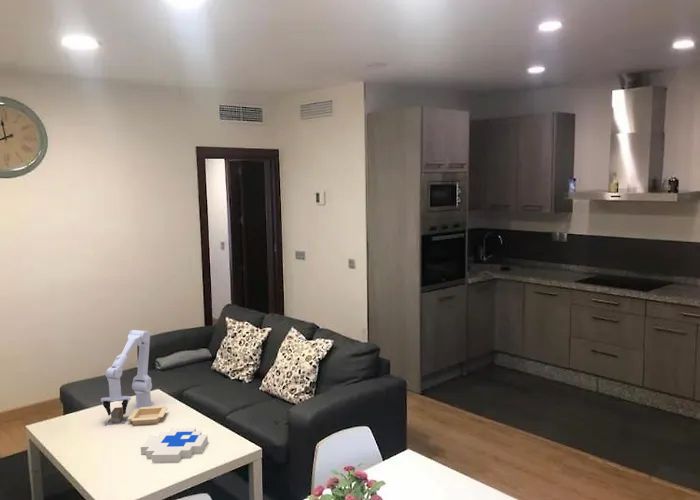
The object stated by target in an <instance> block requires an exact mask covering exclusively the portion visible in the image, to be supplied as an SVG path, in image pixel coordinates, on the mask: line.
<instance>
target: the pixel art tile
mask: <svg viewBox="0 0 700 500" xmlns="http://www.w3.org/2000/svg"><path fill="white" fill-rule="evenodd" d="M208 441H209V437H208V434H202V431H201V430H200V431H199V430H197V431H196V427H186V428H185V427H179V428H175V427H174V428H171V429H170V430H169V431H161V432H160V433H159V434H158V435H149V436H148V437H147V439H146V440H145V441H144V442H143V444H142V445H141V446H140V455H141V456H142V455H144V454H146V455H145V457H146V459H147V458H150V459H151V463H152V462H160V463H179V462H180V461H181V460H182V459H188V458H189V459H190V458H191V457H192V456H193V455H195V454H196V455H198V454H202V453H203V451H204V450H205V448H206V446H207V444H208Z"/></svg>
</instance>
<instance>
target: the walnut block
mask: <svg viewBox="0 0 700 500" xmlns="http://www.w3.org/2000/svg"><path fill="white" fill-rule="evenodd" d="M123 417H124V415H123V407H122V406H121V407H120V406H119V407H114V408H113V410H111V414H110V418H111V421H112V424H116V423H120V422H121V421H122V419H123Z"/></svg>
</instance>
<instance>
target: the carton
mask: <svg viewBox="0 0 700 500" xmlns="http://www.w3.org/2000/svg"><path fill="white" fill-rule="evenodd" d="M168 409H169V407H168V406H167V407H165V405H157V406H153V405H151V407H140V408H139V409H135V408H133V410H132V412H131V413H130V414H129V417H128V419H127V421H128V420H130V422H132V425H145V424H146V425H149V424H159V423H160V421H161V419H162V418H163V417H164V416H165V414H166V412H167V411H168Z"/></svg>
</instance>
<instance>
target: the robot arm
mask: <svg viewBox="0 0 700 500" xmlns="http://www.w3.org/2000/svg"><path fill="white" fill-rule="evenodd" d="M150 343H151V334H150V332H149V331H148V330H138V329H131V330H130V331H129V333H128V335H127V340H126V343H125V346H124V348H123V349H122V352H121V354H117V355H116V357H115V359H114V361H113V363H112V365H111V366H109V367H108V368H107V369H106V371H105V374H104V375H105V378H107V382H108V391H109V396H106V397H101V398H100V402H101V403H102V406H103V407H104V409H105V410H106V412H107V415H108V416H111V412H112V410H111V402H112V403H113V402H121V407H123V416H124V415H125V414H126V413H127V407H128V404H129V402H130V401H131V395H130V396H129V395H122V387H121V377H122V376H123V371H124V367H125V365H126V364H127V362H128V356H129V354H130V353H131V352H132V351H133V349H134V348H135V346H138V358H137V359H138V361H137V374H136V375H135V376H133V378H132V379H133V380H132V384H131V389H132V391H134V393H135V402H136V406H135V407H134V409H139V408H140V407H151V406H153V404H154V403H153V401H152V399H151V398H152V397H151V396H152V395H151V390H152V388H153V383H152V377H150V375H148V373H149V372H148V370H149V357H150Z"/></svg>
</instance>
